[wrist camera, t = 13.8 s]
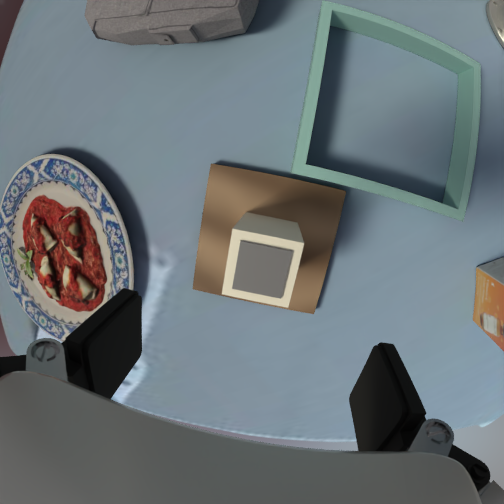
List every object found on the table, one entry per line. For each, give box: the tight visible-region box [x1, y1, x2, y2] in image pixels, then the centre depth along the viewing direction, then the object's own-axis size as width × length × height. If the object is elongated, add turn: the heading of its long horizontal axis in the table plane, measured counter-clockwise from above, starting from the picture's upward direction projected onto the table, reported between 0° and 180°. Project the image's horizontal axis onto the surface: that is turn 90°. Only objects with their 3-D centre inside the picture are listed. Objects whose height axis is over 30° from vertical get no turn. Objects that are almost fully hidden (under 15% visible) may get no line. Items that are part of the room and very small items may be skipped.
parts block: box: [222, 212, 304, 308], centre depth 25 cm, size 5×5×8 cm
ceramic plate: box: [0, 154, 134, 341], centre depth 31 cm, size 26×26×3 cm
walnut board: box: [193, 164, 346, 314], centre depth 29 cm, size 13×13×1 cm
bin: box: [290, 1, 481, 222], centre depth 23 cm, size 18×18×4 cm
